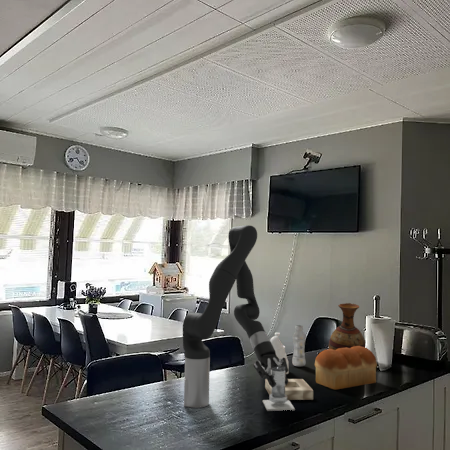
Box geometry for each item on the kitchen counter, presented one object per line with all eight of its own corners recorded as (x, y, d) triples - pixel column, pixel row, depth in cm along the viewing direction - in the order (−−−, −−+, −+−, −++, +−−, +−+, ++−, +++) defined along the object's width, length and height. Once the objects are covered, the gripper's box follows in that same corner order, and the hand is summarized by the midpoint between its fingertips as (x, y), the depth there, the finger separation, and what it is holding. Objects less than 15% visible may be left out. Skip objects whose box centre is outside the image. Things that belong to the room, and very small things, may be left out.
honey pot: (270, 367, 228) (270, 330, 229) (293, 371, 220) (293, 333, 221) (256, 372, 217) (256, 333, 218) (280, 376, 210) (280, 336, 211)
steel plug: (271, 403, 166) (271, 369, 167) (267, 397, 172) (268, 364, 173) (289, 402, 166) (289, 369, 167) (285, 397, 173) (285, 364, 174)
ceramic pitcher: (329, 362, 239) (329, 304, 240) (327, 354, 258) (327, 300, 260) (368, 364, 235) (368, 305, 237) (363, 356, 255) (363, 301, 257)
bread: (334, 390, 190) (334, 354, 191) (314, 382, 201) (314, 348, 202) (377, 383, 202) (377, 348, 203) (356, 376, 213) (356, 343, 214)
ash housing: (272, 399, 176) (272, 390, 176) (265, 387, 192) (265, 379, 192) (313, 399, 177) (313, 390, 178) (302, 387, 193) (302, 379, 193)
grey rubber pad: (267, 410, 164) (267, 409, 164) (262, 401, 174) (262, 400, 174) (294, 410, 165) (294, 408, 165) (288, 401, 175) (288, 399, 175)
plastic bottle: (296, 364, 234) (296, 324, 235) (308, 366, 230) (308, 325, 231) (289, 366, 229) (289, 325, 230) (301, 368, 225) (301, 327, 226)
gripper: (250, 341, 174) (268, 382, 163) (281, 338, 181) (300, 377, 170) (242, 353, 179) (259, 393, 167) (273, 349, 186) (291, 388, 174)
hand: (280, 385), depth 169 cm, fingers closed on steel plug, 5 cm apart
